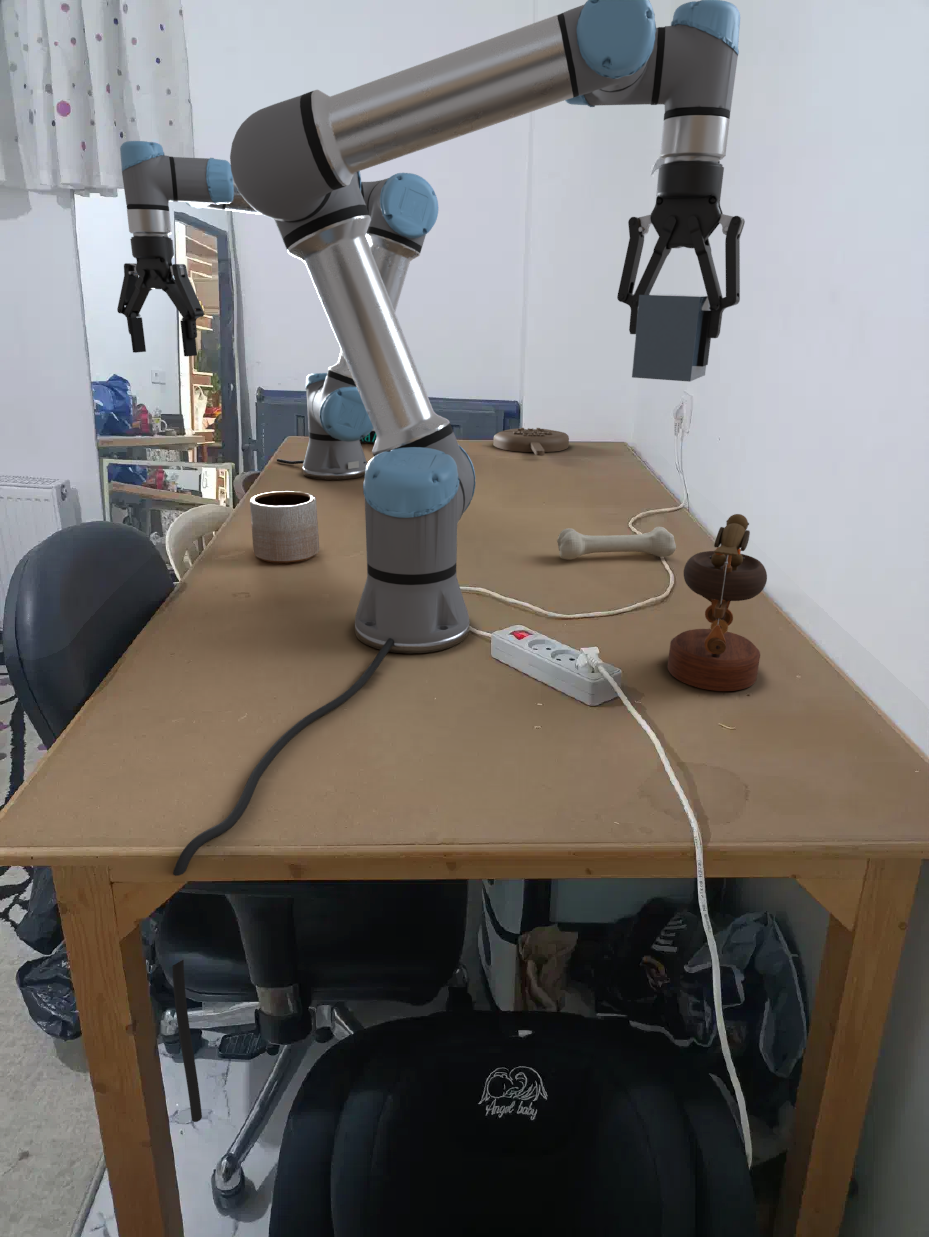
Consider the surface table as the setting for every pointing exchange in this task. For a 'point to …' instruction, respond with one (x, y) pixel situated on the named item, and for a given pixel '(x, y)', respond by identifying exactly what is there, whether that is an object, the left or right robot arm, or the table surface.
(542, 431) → the ice cream bar
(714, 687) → the rusty brown tiered piece
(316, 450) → the left robot arm
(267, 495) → the planter
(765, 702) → the table surface
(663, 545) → the dog toy
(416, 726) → the table surface
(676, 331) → the brick
